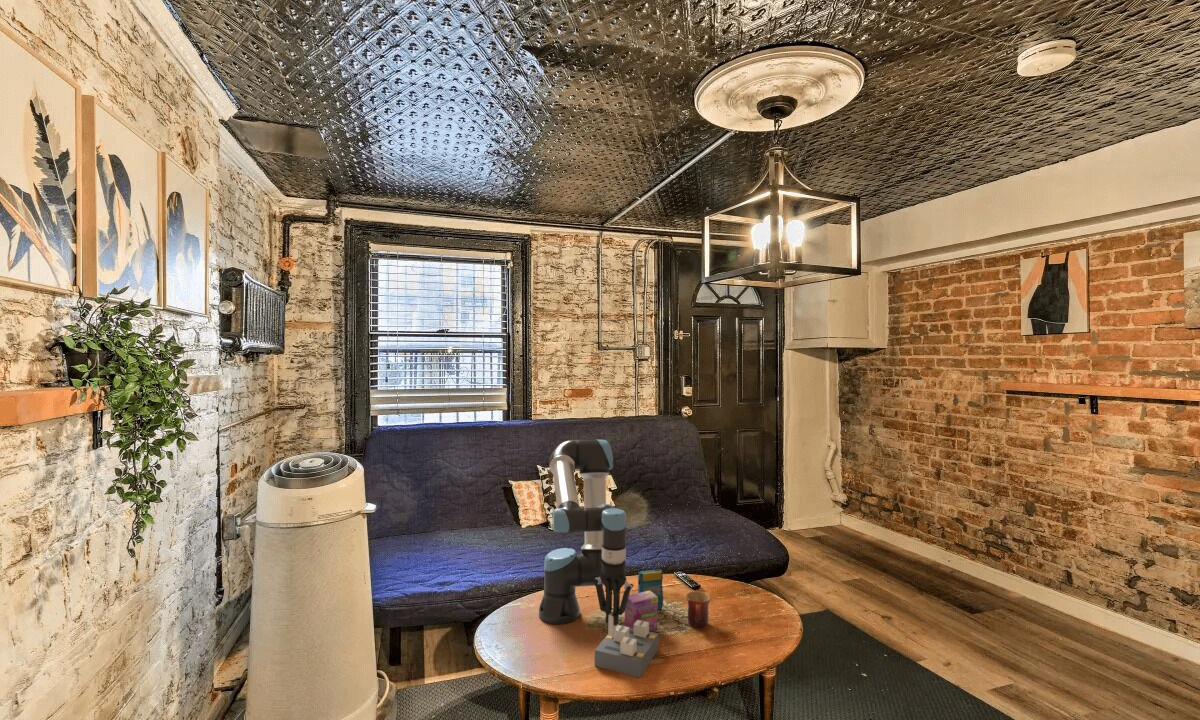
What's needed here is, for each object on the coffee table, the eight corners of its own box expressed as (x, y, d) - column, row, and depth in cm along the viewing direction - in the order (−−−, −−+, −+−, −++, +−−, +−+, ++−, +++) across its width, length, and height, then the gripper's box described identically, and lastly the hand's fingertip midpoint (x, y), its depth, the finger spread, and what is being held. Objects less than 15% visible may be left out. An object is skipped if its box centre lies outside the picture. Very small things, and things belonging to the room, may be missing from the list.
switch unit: (594, 665, 171) (594, 649, 171) (616, 638, 188) (616, 623, 187) (640, 677, 165) (640, 660, 165) (658, 648, 182) (658, 633, 181)
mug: (686, 617, 203) (686, 590, 203) (710, 620, 202) (710, 592, 201) (684, 633, 192) (685, 604, 191) (710, 636, 190) (710, 607, 190)
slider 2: (620, 653, 169) (620, 641, 169) (624, 647, 172) (624, 635, 172) (632, 656, 167) (632, 644, 167) (636, 650, 171) (636, 638, 171)
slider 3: (633, 635, 180) (633, 623, 180) (637, 630, 183) (637, 618, 183) (645, 637, 178) (645, 626, 178) (648, 632, 182) (648, 621, 182)
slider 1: (613, 640, 176) (613, 628, 176) (617, 635, 180) (617, 623, 179) (625, 643, 175) (625, 631, 175) (629, 638, 178) (629, 626, 178)
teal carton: (660, 607, 211) (660, 568, 211) (664, 612, 207) (665, 572, 207) (636, 610, 208) (637, 571, 208) (640, 615, 204) (641, 575, 204)
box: (632, 636, 190) (633, 602, 189) (624, 628, 195) (624, 595, 194) (657, 629, 194) (658, 596, 194) (649, 622, 199) (649, 589, 199)
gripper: (589, 560, 171) (588, 635, 171) (628, 568, 166) (627, 644, 166) (599, 552, 178) (597, 623, 178) (637, 559, 172) (635, 633, 173)
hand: (611, 633), depth 172 cm, fingers closed
